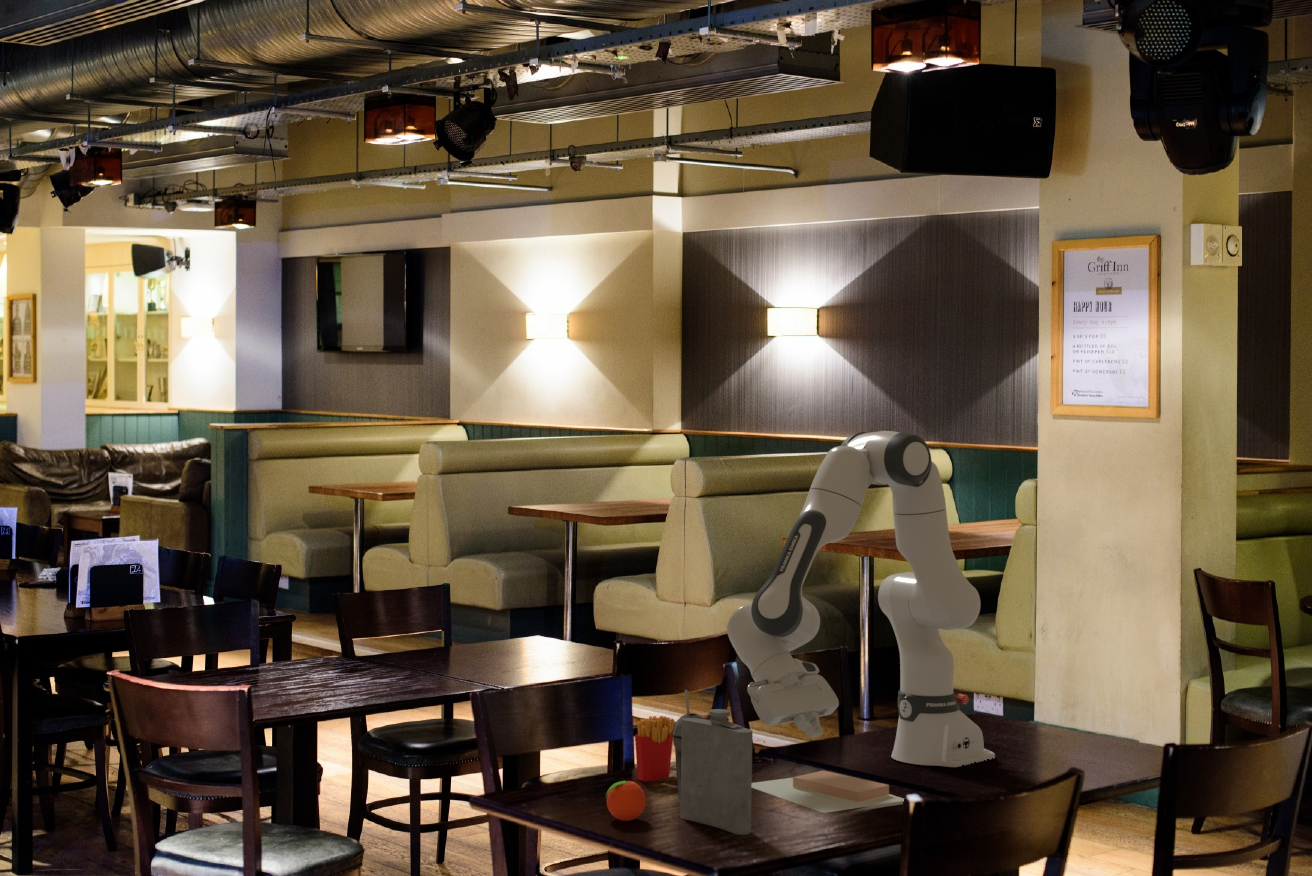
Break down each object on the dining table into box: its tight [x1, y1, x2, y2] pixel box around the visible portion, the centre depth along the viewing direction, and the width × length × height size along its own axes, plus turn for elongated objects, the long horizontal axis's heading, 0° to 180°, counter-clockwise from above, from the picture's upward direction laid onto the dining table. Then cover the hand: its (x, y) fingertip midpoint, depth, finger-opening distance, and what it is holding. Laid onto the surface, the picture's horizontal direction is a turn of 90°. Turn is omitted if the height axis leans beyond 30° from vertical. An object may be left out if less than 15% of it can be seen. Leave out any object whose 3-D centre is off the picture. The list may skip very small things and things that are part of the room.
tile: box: [792, 770, 890, 803], centre depth 291 cm, size 2×9×16 cm
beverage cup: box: [672, 689, 705, 799], centre depth 288 cm, size 7×7×20 cm
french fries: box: [634, 715, 676, 782], centre depth 302 cm, size 8×4×12 cm, turn 126°
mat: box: [752, 777, 905, 814], centre depth 291 cm, size 20×25×1 cm
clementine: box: [604, 779, 647, 822], centre depth 270 cm, size 8×7×7 cm
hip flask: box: [679, 708, 753, 836], centre depth 268 cm, size 16×4×20 cm, turn 43°
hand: (816, 735), depth 296 cm, fingers closed
